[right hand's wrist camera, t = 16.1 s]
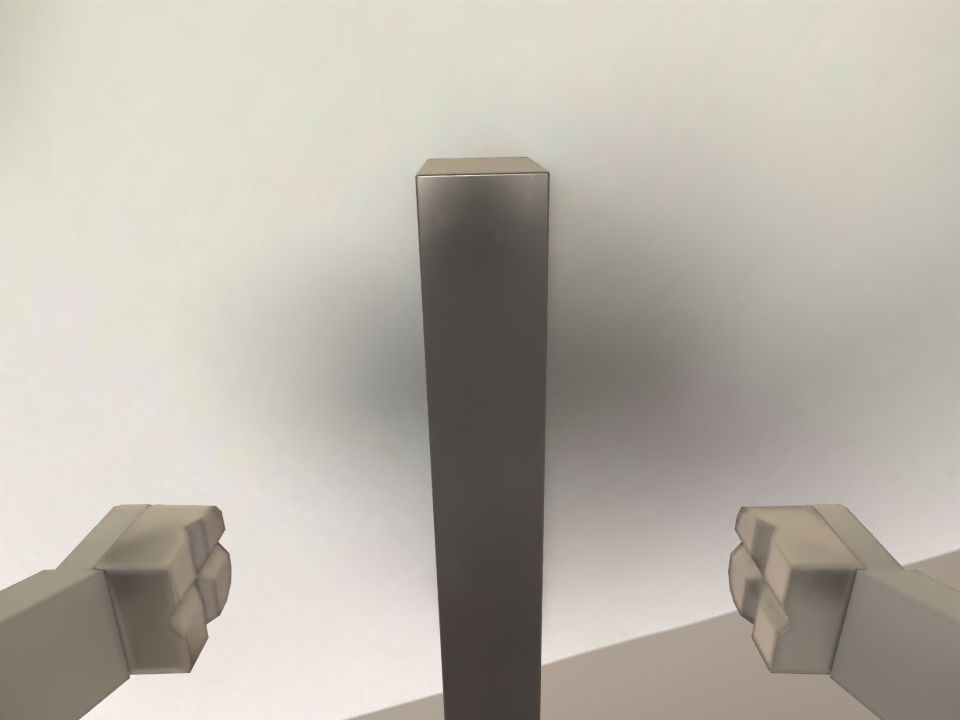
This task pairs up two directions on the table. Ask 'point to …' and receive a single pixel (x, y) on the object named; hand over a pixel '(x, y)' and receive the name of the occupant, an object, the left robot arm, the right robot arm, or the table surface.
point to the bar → (486, 423)
